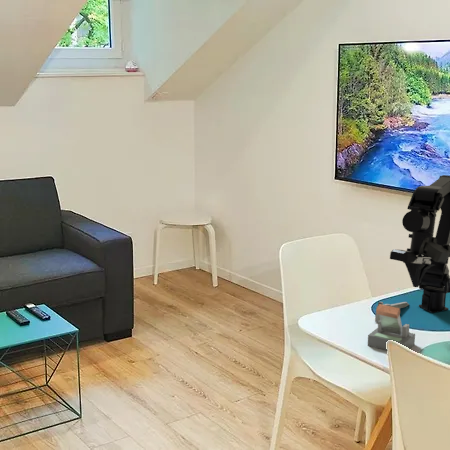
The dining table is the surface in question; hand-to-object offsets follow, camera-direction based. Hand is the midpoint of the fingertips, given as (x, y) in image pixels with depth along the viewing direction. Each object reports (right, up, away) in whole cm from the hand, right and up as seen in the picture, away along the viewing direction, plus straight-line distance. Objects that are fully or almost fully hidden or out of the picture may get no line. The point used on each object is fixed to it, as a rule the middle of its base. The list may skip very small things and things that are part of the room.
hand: (415, 287), depth 202 cm
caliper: (-3, -10, +14) cm, 17 cm away
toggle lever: (-9, -11, -10) cm, 17 cm away
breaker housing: (-9, -15, -9) cm, 19 cm away
